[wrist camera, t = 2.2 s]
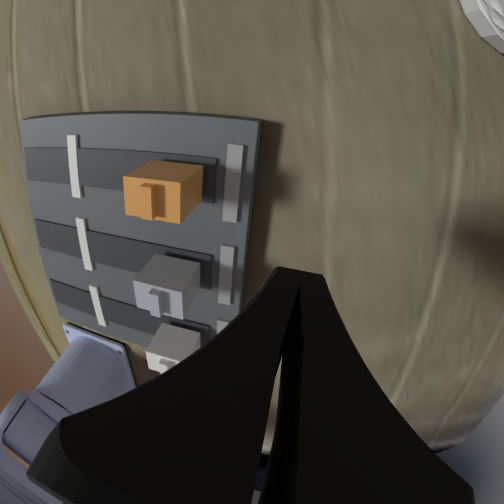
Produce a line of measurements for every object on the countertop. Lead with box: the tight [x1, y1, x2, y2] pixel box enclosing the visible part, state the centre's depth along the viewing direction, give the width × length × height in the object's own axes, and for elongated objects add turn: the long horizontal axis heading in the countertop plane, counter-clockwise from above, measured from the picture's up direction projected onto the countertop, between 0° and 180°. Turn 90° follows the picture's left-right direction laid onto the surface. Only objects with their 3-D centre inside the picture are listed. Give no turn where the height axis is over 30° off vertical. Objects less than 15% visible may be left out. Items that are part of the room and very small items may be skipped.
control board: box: [20, 111, 262, 348], centre depth 21 cm, size 19×18×1 cm
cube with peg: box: [133, 254, 200, 320], centre depth 18 cm, size 2×3×4 cm, turn 84°
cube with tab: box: [145, 323, 200, 374], centre depth 21 cm, size 2×3×4 cm, turn 84°
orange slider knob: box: [123, 160, 203, 224], centre depth 15 cm, size 2×3×4 cm, turn 84°
